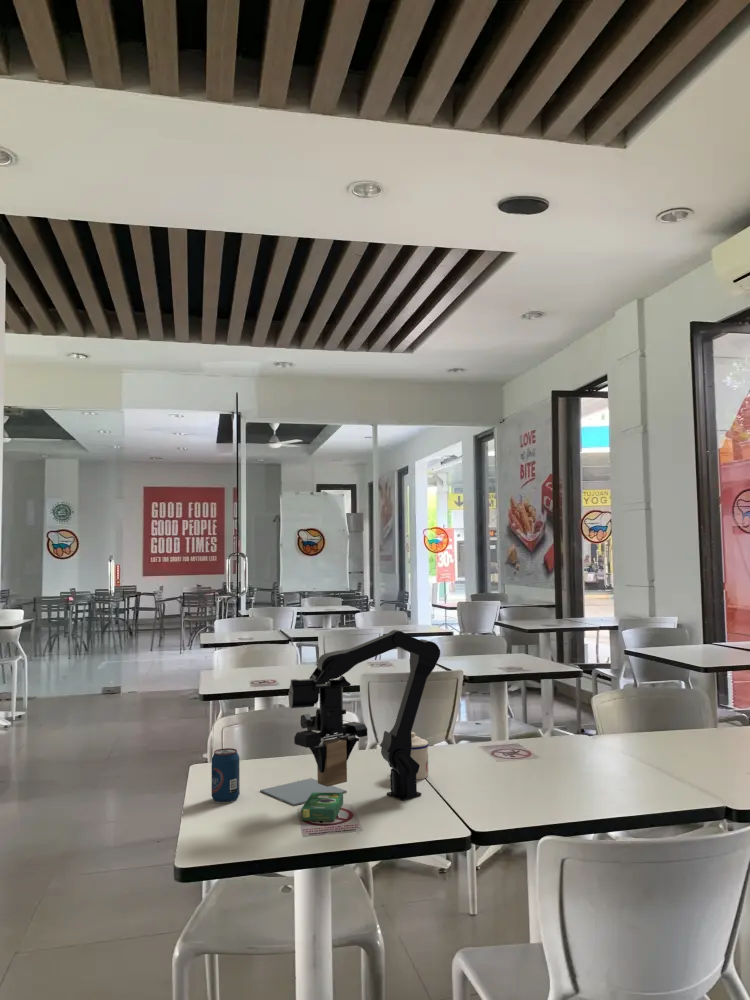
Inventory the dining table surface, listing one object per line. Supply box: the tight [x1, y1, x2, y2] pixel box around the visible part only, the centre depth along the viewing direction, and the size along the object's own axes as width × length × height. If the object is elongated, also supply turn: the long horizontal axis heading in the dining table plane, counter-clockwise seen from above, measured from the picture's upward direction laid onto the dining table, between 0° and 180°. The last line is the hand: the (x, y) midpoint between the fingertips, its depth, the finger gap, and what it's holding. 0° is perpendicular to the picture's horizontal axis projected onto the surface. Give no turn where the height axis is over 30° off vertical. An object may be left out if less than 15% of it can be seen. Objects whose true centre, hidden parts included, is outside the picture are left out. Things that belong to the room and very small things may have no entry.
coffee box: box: [300, 793, 344, 822], centre depth 184 cm, size 8×3×13 cm
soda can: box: [211, 747, 241, 804], centre depth 195 cm, size 7×7×12 cm
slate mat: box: [259, 777, 348, 807], centre depth 200 cm, size 16×16×1 cm
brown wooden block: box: [316, 737, 348, 787], centre depth 191 cm, size 4×6×10 cm, turn 130°
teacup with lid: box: [411, 731, 429, 781], centre depth 215 cm, size 12×9×12 cm
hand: (332, 769), depth 191 cm, fingers closed on brown wooden block, 6 cm apart
